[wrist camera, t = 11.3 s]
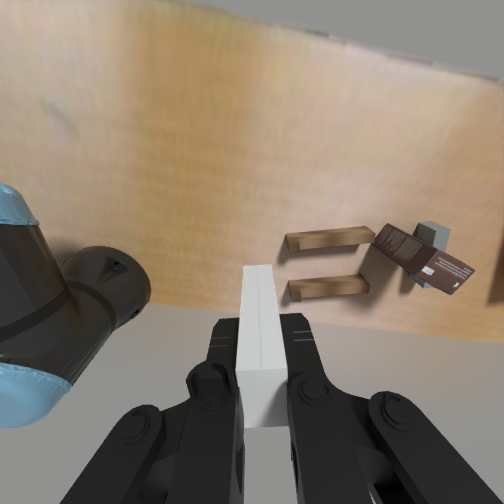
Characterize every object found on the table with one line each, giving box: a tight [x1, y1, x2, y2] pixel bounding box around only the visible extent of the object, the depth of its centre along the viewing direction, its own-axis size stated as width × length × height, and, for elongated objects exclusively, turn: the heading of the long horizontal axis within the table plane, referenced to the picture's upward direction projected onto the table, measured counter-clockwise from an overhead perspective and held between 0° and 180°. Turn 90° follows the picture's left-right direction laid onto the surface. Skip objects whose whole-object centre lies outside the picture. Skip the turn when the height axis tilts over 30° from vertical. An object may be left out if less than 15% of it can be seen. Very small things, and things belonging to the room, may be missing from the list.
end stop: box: [409, 221, 450, 288], centre depth 38 cm, size 2×10×4 cm, turn 6°
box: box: [372, 223, 475, 295], centre depth 34 cm, size 6×4×12 cm
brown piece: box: [286, 226, 375, 302], centre depth 39 cm, size 13×11×4 cm
